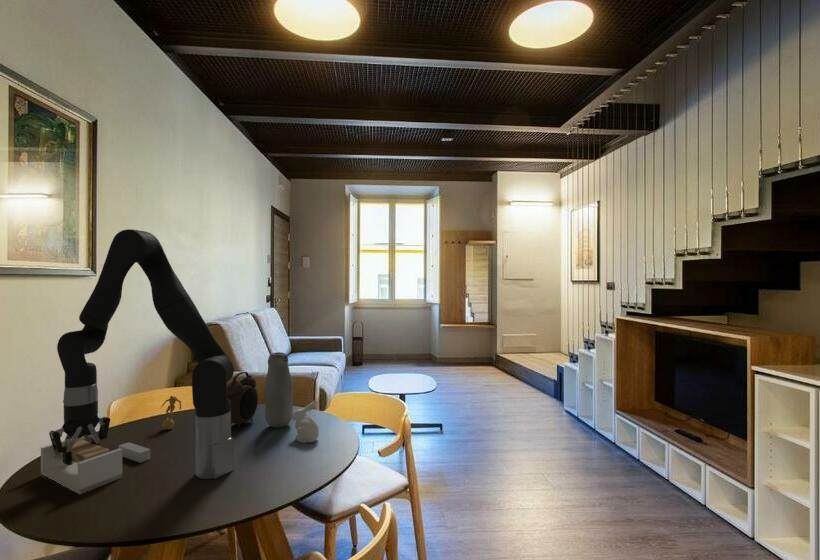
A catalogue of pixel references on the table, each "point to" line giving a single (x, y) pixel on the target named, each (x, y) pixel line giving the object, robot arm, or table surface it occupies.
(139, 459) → the block
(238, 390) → the alarm clock
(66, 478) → the shelf frame
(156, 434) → the table surface
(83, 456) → the shelf board
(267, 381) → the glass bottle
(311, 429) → the rabbit
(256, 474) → the table surface
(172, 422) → the figurine
